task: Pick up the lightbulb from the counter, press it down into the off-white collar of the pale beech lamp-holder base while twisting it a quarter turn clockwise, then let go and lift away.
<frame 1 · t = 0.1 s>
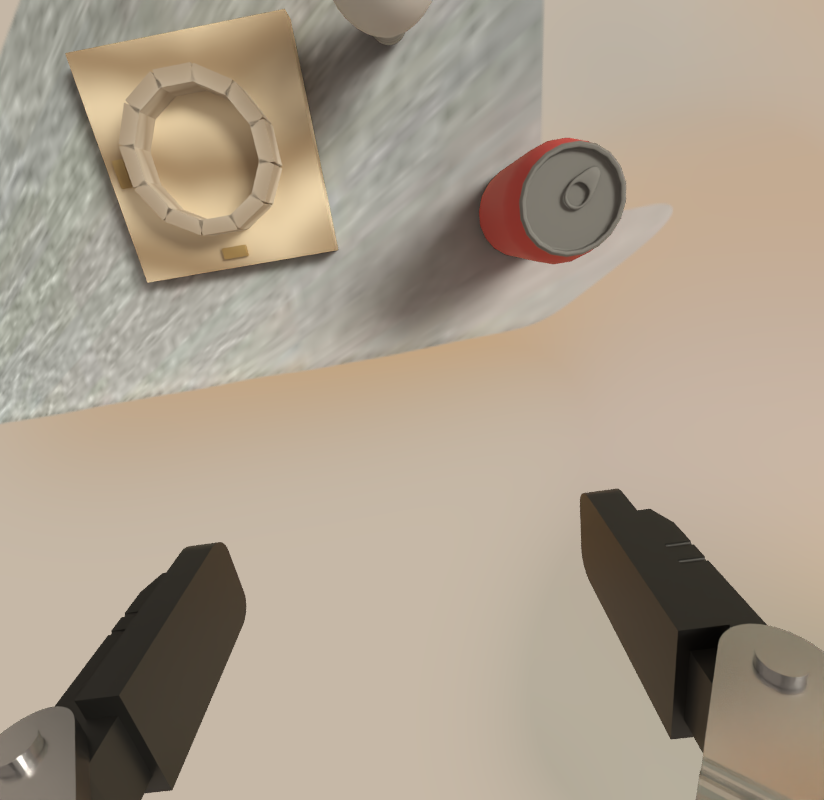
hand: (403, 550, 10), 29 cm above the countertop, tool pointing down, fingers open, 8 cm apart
lamp holder: (218, 161, 33), on the countertop
lightbulb: (388, 29, 31), on the countertop
beer can: (519, 211, 35), on the countertop
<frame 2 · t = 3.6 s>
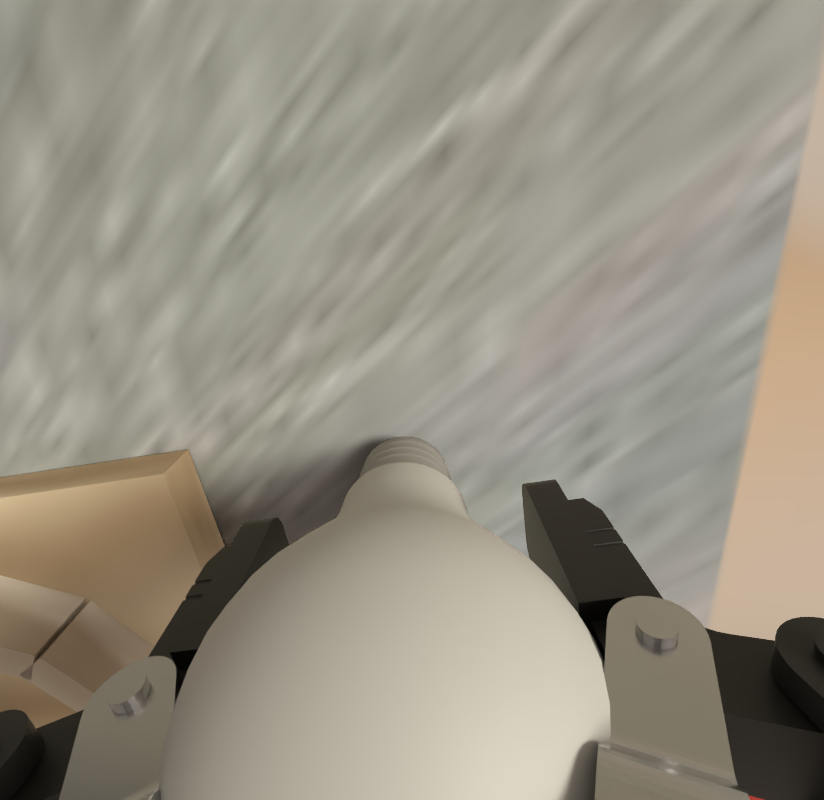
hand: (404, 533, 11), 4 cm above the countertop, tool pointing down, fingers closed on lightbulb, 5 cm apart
lamp holder: (62, 655, 17), on the countertop
lightbulb: (405, 458, 14), on the countertop, touching gripper
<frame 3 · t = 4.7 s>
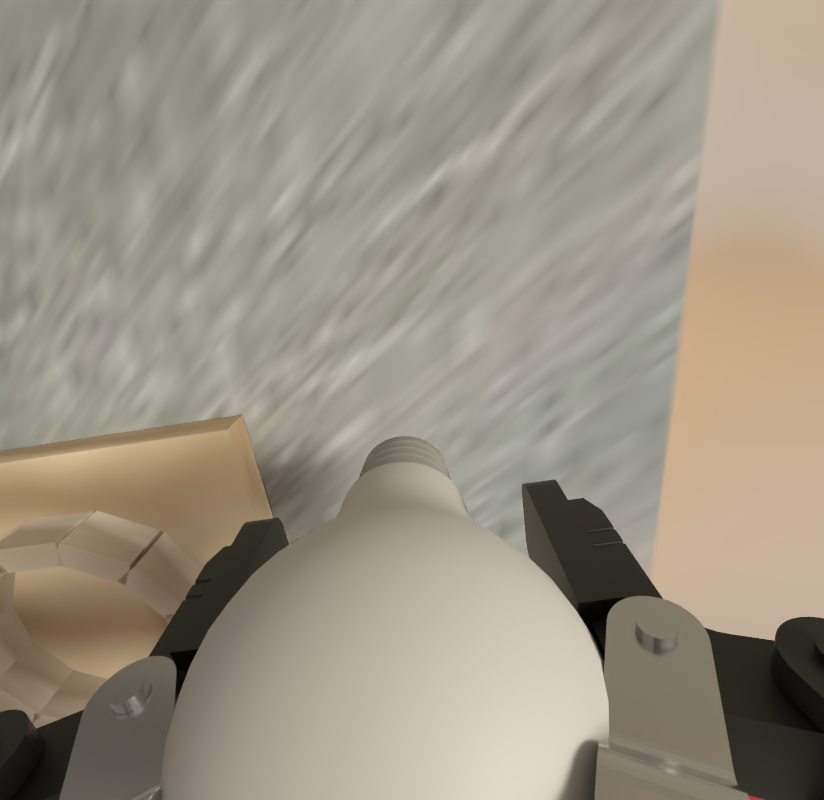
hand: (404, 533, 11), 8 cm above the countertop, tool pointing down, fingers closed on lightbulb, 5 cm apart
lamp holder: (130, 587, 21), on the countertop
lightbulb: (405, 458, 14), point 4 cm above the countertop, touching gripper
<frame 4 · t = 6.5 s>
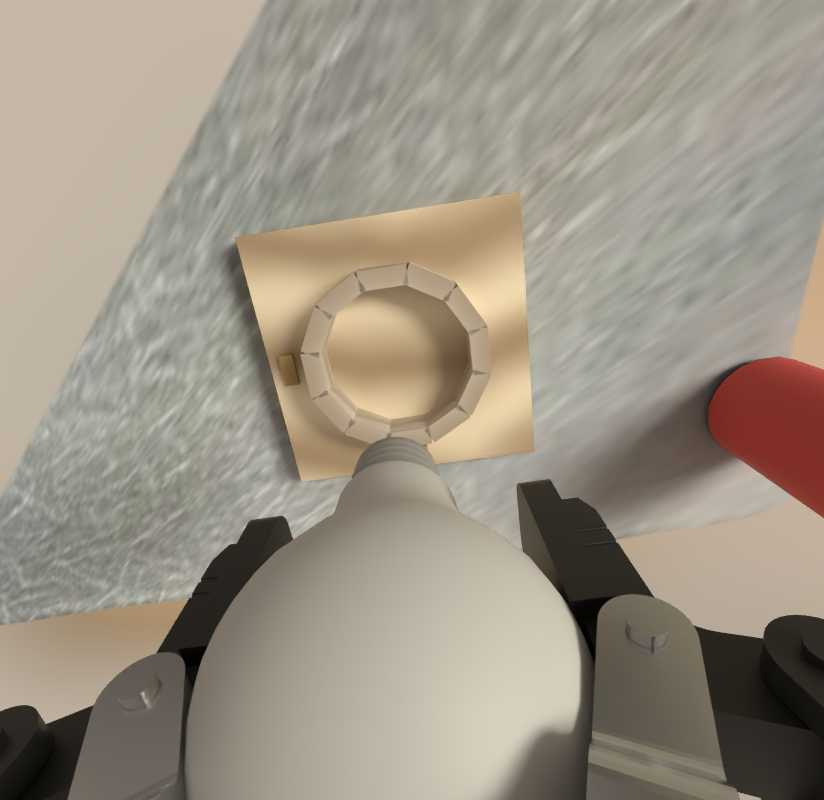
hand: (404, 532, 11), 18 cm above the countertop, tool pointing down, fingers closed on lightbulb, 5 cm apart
lamp holder: (398, 347, 27), on the countertop
lightbulb: (395, 458, 15), point 13 cm above the countertop, touching gripper
beer can: (752, 402, 29), on the countertop
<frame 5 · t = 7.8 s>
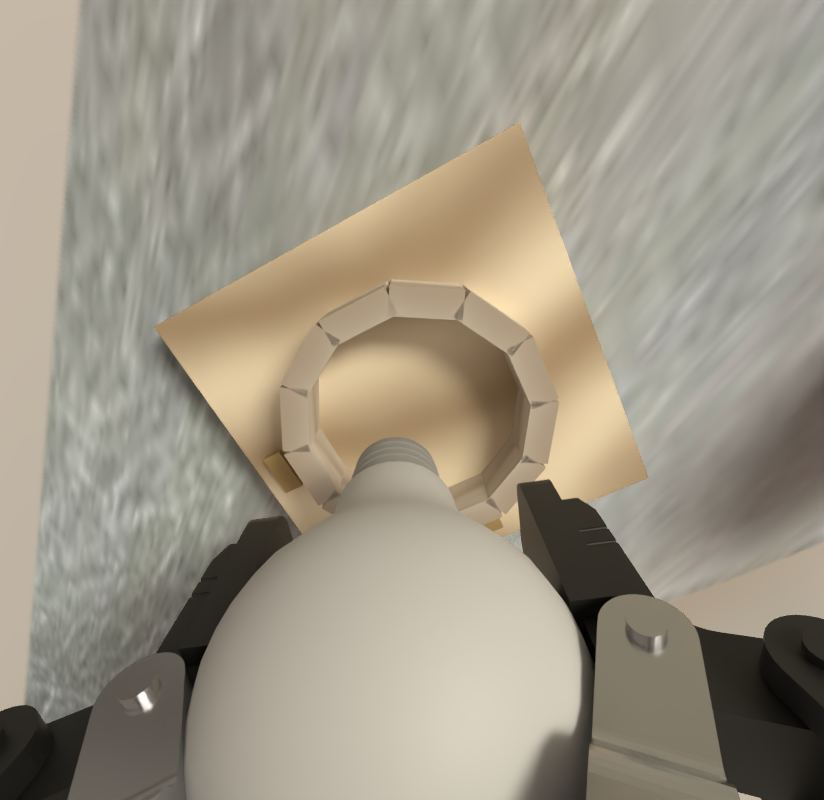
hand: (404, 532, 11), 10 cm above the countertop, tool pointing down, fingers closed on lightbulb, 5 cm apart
lamp holder: (416, 394, 20), on the countertop
lightbulb: (395, 458, 15), point 5 cm above the countertop, touching gripper
when the fingers open (5 cm above the countertop, at t = 9.7 s): lightbulb stays where it is, resting on lamp holder.
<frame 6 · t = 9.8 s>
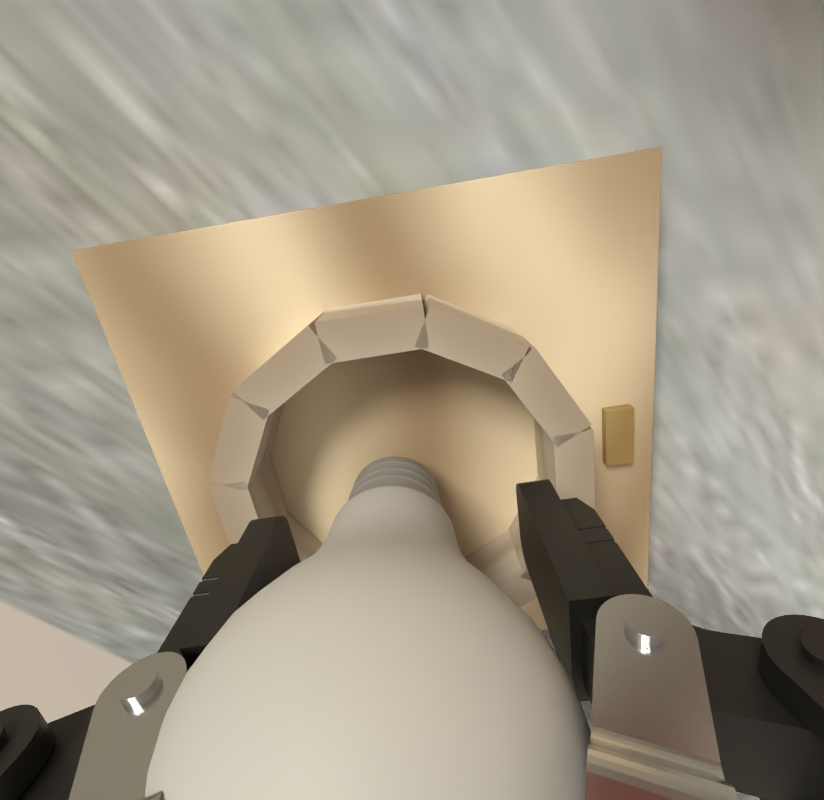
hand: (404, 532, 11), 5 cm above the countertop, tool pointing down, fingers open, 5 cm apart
lamp holder: (405, 442, 15), on the countertop
lightbulb: (396, 476, 14), point 1 cm above the countertop, touching lamp holder
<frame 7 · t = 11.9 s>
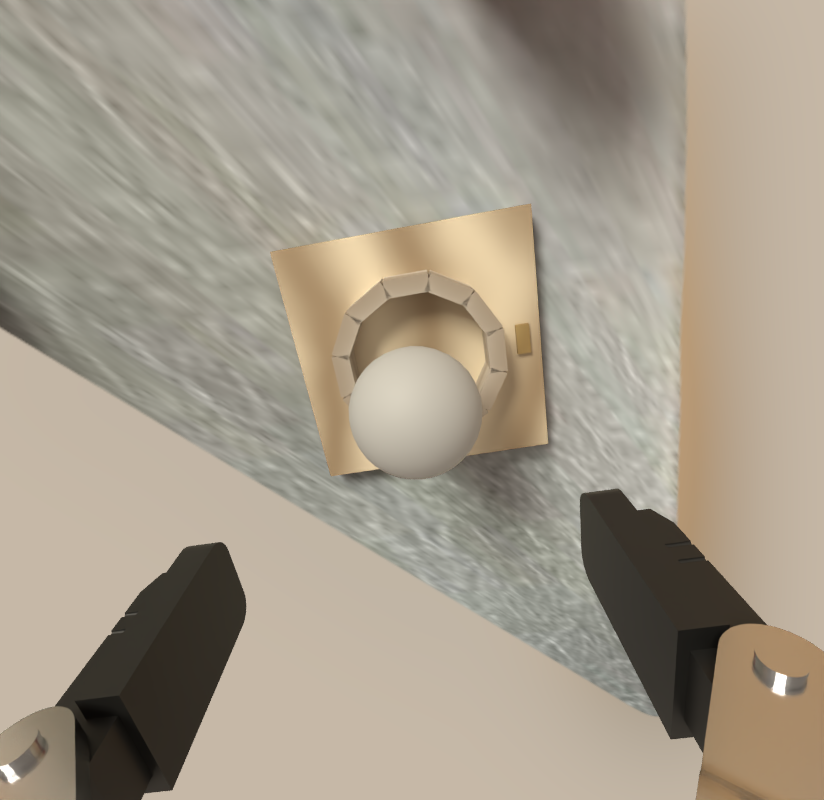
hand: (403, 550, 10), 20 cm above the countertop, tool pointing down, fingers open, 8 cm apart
lamp holder: (419, 349, 29), on the countertop
lightbulb: (415, 362, 28), point 1 cm above the countertop, touching lamp holder
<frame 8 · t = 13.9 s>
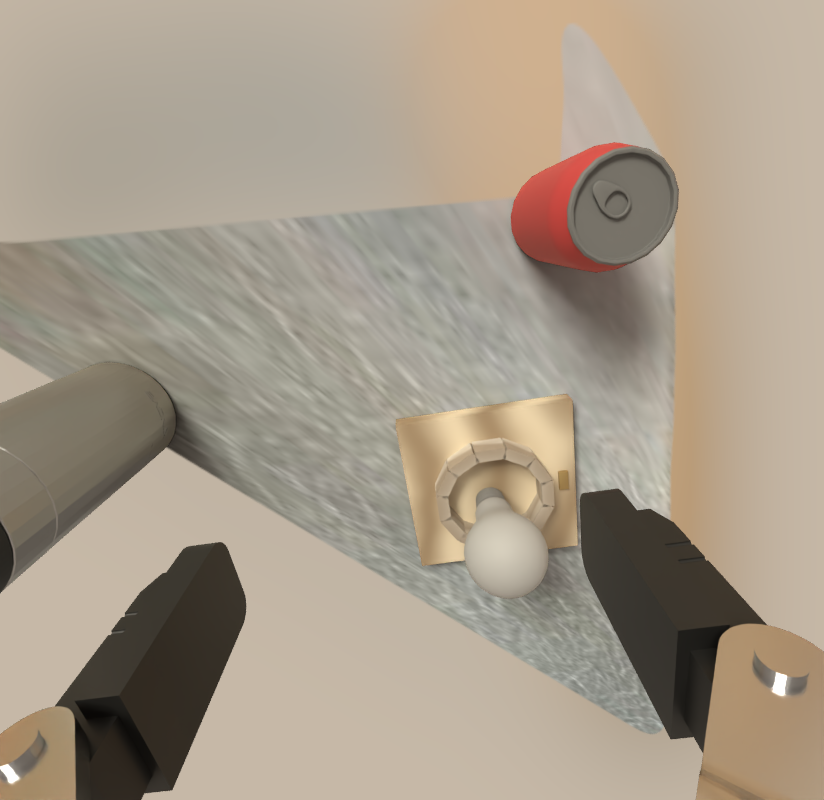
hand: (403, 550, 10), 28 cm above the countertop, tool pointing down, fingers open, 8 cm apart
lamp holder: (488, 480, 42), on the countertop
lightbulb: (487, 493, 41), point 1 cm above the countertop, touching lamp holder
beer can: (551, 216, 34), on the countertop
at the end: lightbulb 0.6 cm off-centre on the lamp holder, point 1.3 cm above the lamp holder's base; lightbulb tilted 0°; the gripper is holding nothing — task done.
